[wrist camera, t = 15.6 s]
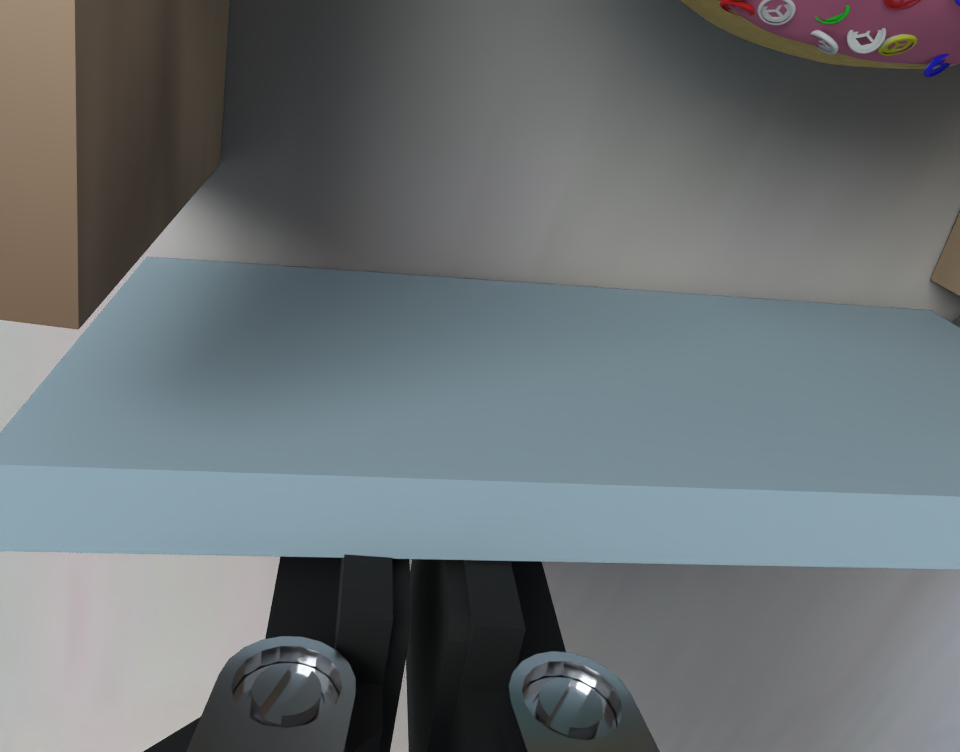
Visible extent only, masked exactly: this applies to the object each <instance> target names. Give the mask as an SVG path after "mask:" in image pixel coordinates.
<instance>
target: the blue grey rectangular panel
mask: <svg viewBox="0 0 960 752" xmlns="http://www.w3.org/2000/svg"><path fill="white" fill-rule="evenodd" d="M0 551H24V552H76V553H127V554H179V555H231V556H283V557H335V558H344V554H347V555H361V556H376V557H390V558H392V559H438V560H490V561H542V562H594V563H645V564H697V565H749V566H801V567H853V568H904V569H956V570H960V317H958V318H956V319H955V320H953V321H952V322H949V321H948V320H946V319H944V318H943V317H941V316H939V315H938V314H936V313H934V312H933V311H931V310H918V309H903V308H888V307H874V306H859V305H845V304H830V303H816V302H801V301H787V300H772V299H757V298H743V297H728V296H714V295H699V294H685V293H670V292H655V291H641V290H626V289H612V288H597V287H583V286H568V285H553V284H539V283H524V282H510V281H495V280H481V279H466V278H451V277H437V276H422V275H408V274H393V273H379V272H364V271H350V270H335V269H320V268H306V267H291V266H277V265H262V264H248V263H233V262H218V261H204V260H189V259H175V258H160V257H146V259H145V260H144V261H143V262H142V263H141V265H140V266H139V267H138V268H137V269H136V271H135V272H134V273H133V274H132V275H131V277H130V278H129V279H128V280H127V281H126V283H125V284H124V285H123V286H122V287H121V289H120V290H119V291H118V292H117V293H116V295H115V296H114V297H113V298H112V299H111V301H110V302H109V303H108V304H107V305H106V307H105V308H104V309H103V310H102V311H101V313H100V314H99V315H98V316H97V317H96V319H95V320H94V321H93V322H92V323H91V325H90V326H89V327H88V328H87V329H86V331H85V332H84V333H83V334H82V335H81V337H80V338H79V339H78V340H77V341H76V343H75V344H74V345H73V346H72V347H71V349H70V350H69V351H68V352H67V353H66V355H65V356H64V357H63V358H62V359H61V361H60V362H59V363H58V364H57V365H56V367H55V368H54V369H53V370H52V371H51V373H50V374H49V375H48V376H47V377H46V379H45V380H44V381H43V382H42V383H41V385H40V386H39V387H38V388H37V389H36V391H35V392H34V393H33V394H32V395H31V397H30V398H29V399H28V400H27V401H26V403H25V404H24V405H23V406H22V407H21V409H20V410H19V411H18V412H17V413H16V415H15V416H14V417H13V418H12V419H11V421H10V422H9V423H8V424H7V425H6V427H5V428H4V429H3V430H2V431H1V433H0Z"/></svg>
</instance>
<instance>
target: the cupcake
mask: <svg viewBox="0 0 960 752" xmlns="http://www.w3.org/2000/svg"><path fill="white" fill-rule="evenodd" d="M680 1H681V2H683V3H684V4H685V5H686V6H687V7H689V8H690V9H692V10H693V11H694V12H696V13H697V14H698V15H700V16H701V17H703V18H704V19H706V20H707V21H709V22H710V23H712V24H714V25H715V26H717V27H719V28H721V29H722V30H724V31H726V32H729V33H731V34H733V35H735V36H737V37H740V38H742V39H744V40H747V41H749V42H752V43H755V44H757V45H760V46H763V47H766V48H769V49H773V50H776V51H779V52H783V53H786V54H790V55H794V56H797V57H801V58H805V59H809V60H813V61H817V62H822V63H828V64H835V65H843V66H855V67H871V68H891V69H925V70H924V75H925V76H926V77H933V76H935V75H937V74H939V73H941V72H942V71H943V70H945V69H946V68H947V67H949V66H954V65H960V0H680ZM933 68H936V69H934V70H933Z"/></svg>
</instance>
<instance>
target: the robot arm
mask: <svg viewBox="0 0 960 752" xmlns="http://www.w3.org/2000/svg"><path fill="white" fill-rule="evenodd" d="M405 660H406V671H407V704H408V738H409V752H660V751H659V749H658V747H657V745H656V743H655V741H654V739H653V737H652V735H651V733H650V731H649V729H648V727H647V725H646V723H645V721H644V719H643V717H642V715H641V713H640V711H639V709H638V707H637V705H636V703H635V701H634V699H633V697H632V695H631V694H630V692H629V691H628V689H627V688H626V687H625V685H624V684H623V682H622V681H621V680H620V679H619V678H618V677H617V676H616V675H615V674H613V673H612V672H611V671H610V670H609V669H608V668H606V667H605V666H603V665H601V664H599V663H597V662H595V661H594V660H592V659H590V658H587V657H584V656H580V655H577V654H574V653H568V652H566V651H565V647H564V643H563V640H562V636H561V632H560V629H559V625H558V621H557V617H556V614H555V610H554V606H553V603H552V599H551V595H550V592H549V588H548V584H547V581H546V577H545V573H544V569H543V566H542V562H541V561H490V560H438V559H412V564H411V570H410V566H409V559H392V558H390V557H376V556H361V555H347V554H344V558H335V557H283V556H281V557H280V563H279V568H278V573H277V579H276V584H275V590H274V595H273V601H272V606H271V611H270V617H269V622H268V628H267V633H266V639H264V640H260V641H258V642H256V643H253V644H251V645H249V646H247V647H244V648H243V649H241V650H240V651H239V652H238V653H236V654H235V655H234V656H233V657H231V658H230V659H229V660H228V661H227V663H226V664H225V666H224V668H223V669H222V671H221V672H220V674H219V675H218V678H217V680H216V683H215V685H214V687H213V690H212V692H211V694H210V697H209V699H208V701H207V704H206V706H205V708H204V711H203V713H202V715H201V717H200V718H198V719H196V720H195V721H193V722H191V723H190V724H188V725H186V726H185V727H183V728H181V729H180V730H178V731H177V732H175V733H173V734H172V735H170V736H168V737H167V738H165V739H163V740H162V741H160V742H158V743H157V744H155V745H153V746H152V747H150V748H149V749H147V750H145V751H144V752H390V747H391V742H392V736H393V730H394V724H395V718H396V713H397V707H398V701H399V695H400V689H401V684H402V678H403V672H404V666H405Z"/></svg>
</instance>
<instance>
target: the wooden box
mask: <svg viewBox="0 0 960 752" xmlns="http://www.w3.org/2000/svg"><path fill="white" fill-rule="evenodd" d="M229 5H230V0H0V320H7V321H15V322H23V323H31V324H39V325H47V326H55V327H63V328H71V329H79V328H80V327H81V326H82V325H83V324H84V323H85V321H86V320H87V319H88V318H89V317H90V316H91V314H92V313H93V312H94V311H95V310H96V309H97V307H98V306H99V305H100V304H101V303H102V302H103V300H104V299H105V298H106V297H107V296H108V294H109V293H110V292H111V291H112V290H113V289H114V287H115V286H116V285H117V284H118V283H119V282H120V280H121V279H122V278H123V277H124V276H125V275H126V273H127V272H128V271H129V270H130V269H131V268H132V266H133V265H134V264H135V263H136V262H137V261H138V259H139V258H140V257H141V256H142V255H143V254H144V252H145V251H146V250H147V249H148V248H149V247H150V245H151V244H152V243H153V242H154V241H155V240H156V238H157V237H158V236H159V235H160V234H161V233H162V231H163V230H164V229H165V228H166V227H167V226H168V224H169V223H170V222H171V221H172V220H173V219H174V217H175V216H176V215H177V214H178V213H179V211H180V210H181V209H182V208H183V207H184V206H185V204H186V203H187V202H188V201H189V200H190V199H191V197H192V196H193V195H194V194H195V193H196V192H197V190H198V189H199V188H200V187H201V186H202V185H203V183H204V182H205V181H206V180H207V179H208V178H209V176H210V175H211V174H212V173H213V172H214V171H215V169H216V168H217V167H218V166H219V165H220V158H221V141H222V124H223V107H224V90H225V73H226V56H227V39H228V22H229ZM931 280H932V281H933V282H935V283H937V284H939V285H941V286H943V287H944V288H946V289H948V290H950V291H952V292H953V293H955V294H957V295H959V296H960V213H959V215H958V217H957V220H956V222H955V224H954V227H953V229H952V231H951V233H950V236H949V238H948V240H947V243H946V245H945V247H944V250H943V252H942V254H941V257H940V259H939V261H938V263H937V266H936V268H935V270H934V273H933V275H932V277H931Z"/></svg>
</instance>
